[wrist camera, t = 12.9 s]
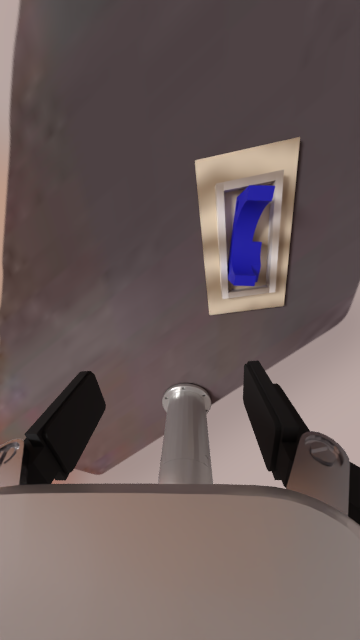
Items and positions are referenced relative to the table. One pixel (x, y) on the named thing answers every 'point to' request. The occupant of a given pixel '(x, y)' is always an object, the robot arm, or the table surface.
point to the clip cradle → (272, 228)
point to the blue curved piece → (247, 235)
